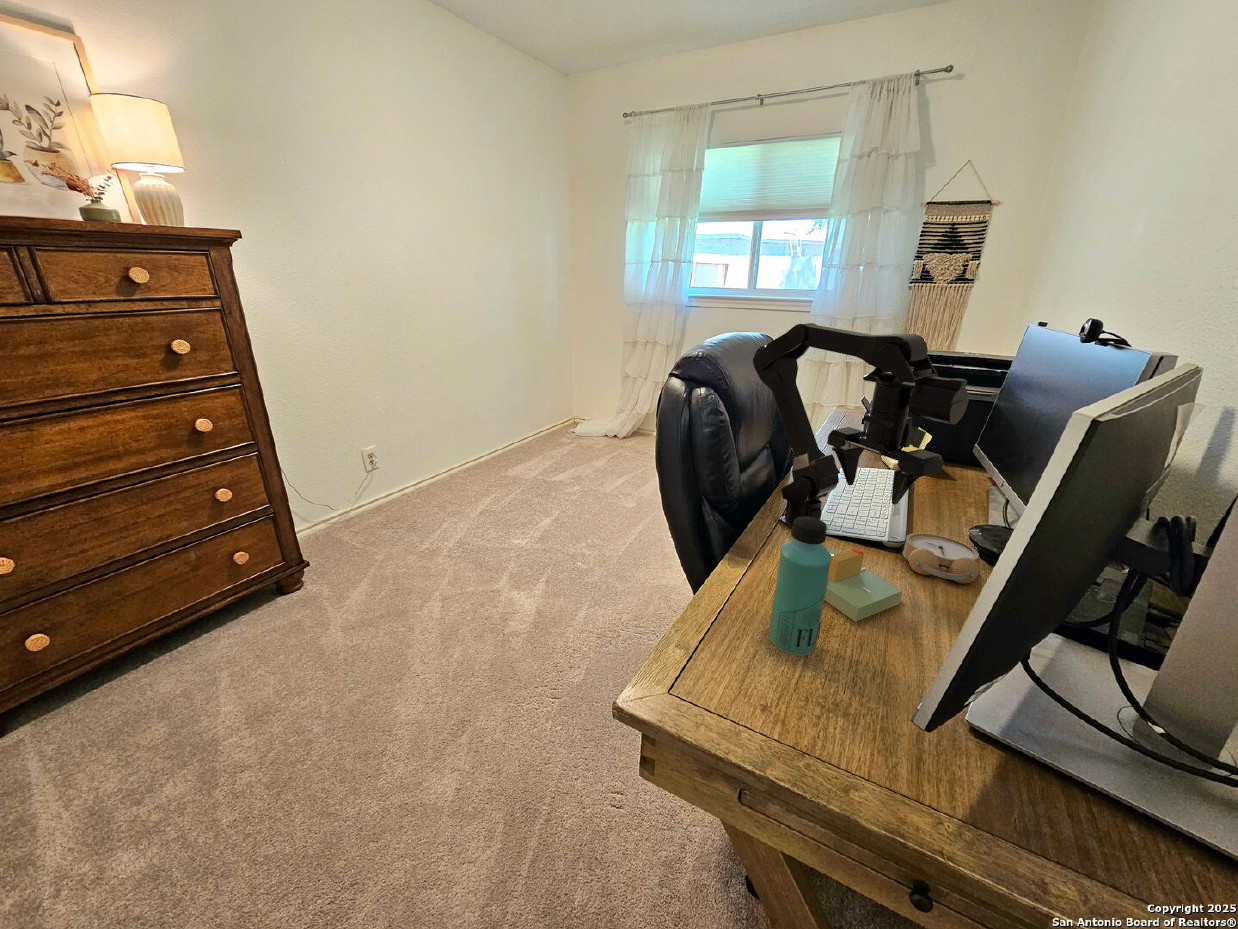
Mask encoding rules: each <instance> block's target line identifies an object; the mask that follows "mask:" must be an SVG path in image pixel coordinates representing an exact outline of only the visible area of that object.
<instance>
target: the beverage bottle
mask: <svg viewBox="0 0 1238 929" xmlns="http://www.w3.org/2000/svg"><path fill="white" fill-rule="evenodd" d="M790 535H791V537H792V538H793V539H790V540H787V541H786V542H785V543H783V544H782V545H781V546H780V549H779V560H778V569H777V575H776V584H775V589H774V593H773V601H772V604H771V605H772V606H771V614H770V616H769V627H768V634H769V639H770V641H771V643H772V645H773V646H774V647H775V648H776V649H778V650H779V651H780V652H782V653H784V654H787V655H790V656H795V657H805V656H808V655H810V654H811V653H813V652H814V650H815V649H816V648H817V643H818V641H819V638H820V634H819V633H820V631H821V625H822V621H823V618H822V615H823V614H822V613H823V610H824V602H825V600H824V597H825V593H827V592H826V591H827V589H826V586H827V587H828V585H827V583H828V582H827V580H828V575H829V574H828V573H829V567H830V563H831V554H830V553H829V551H828V550H829V549H827V547H825V546H824V545H823V543H825V542H826V538H827V524H826V522H825V521H823V520H821V518H820V519H817V518H814V517H808V516H803V517H798V518H796V519H795V520H794V524H793V528H791V531H790Z"/></svg>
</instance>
